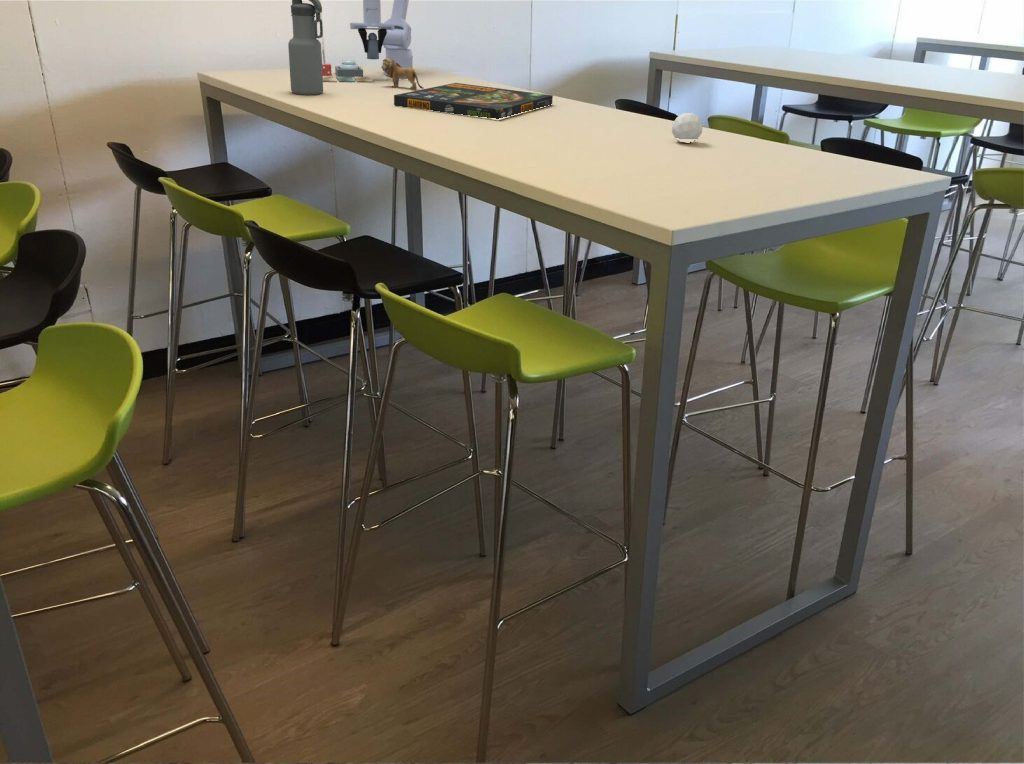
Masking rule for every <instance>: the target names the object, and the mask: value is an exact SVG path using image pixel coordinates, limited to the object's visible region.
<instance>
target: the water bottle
mask: <svg viewBox="0 0 1024 764" xmlns="http://www.w3.org/2000/svg"><path fill="white" fill-rule="evenodd" d="M308 1H309V2H310V3H308V2H307V3H306V2H303V0H291V5H290V14H291V15H290V16H291V20H292V36H293V37H292V38H291V39H289V41H288V44H287V45H288V47H287V48H288V62H289V63H288V64H289V77H290V80H289V81H290V90H291V92H292V93H293V94H295V95H301V96H315V95H316V96H317V95H320V94H323V92H324V82H323V76H324V75H323V74H322V64H323V56H322V44H321V41H320V40H319V39H320V38H321V39H322V38H323V35H324V31H323V30H324V29H323V20H322V19H321V13H322V12H323V8H322V4H321V2H320V0H308ZM318 23H319V31H320V32H319V35H318Z"/></svg>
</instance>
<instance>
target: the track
mask: <svg viewBox="0 0 1024 764" xmlns="http://www.w3.org/2000/svg"><path fill="white" fill-rule="evenodd" d="M337 82H339V83H355V82H357V83H374V82H373V79H371V78H370V77H369V76H363V77H338V76H336V77H335V76H334V75H333V76H330V75H323V83H337Z"/></svg>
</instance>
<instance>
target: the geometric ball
mask: <svg viewBox="0 0 1024 764" xmlns="http://www.w3.org/2000/svg"><path fill="white" fill-rule="evenodd" d="M702 133H703V122H702V121H701V118H700V117H699V116H698V115H697V114H695V113H694V112H683V113H681V114H679V116H677V117H676V118H675V120H673V123H672V124H671V134H672V135H673V136H674V139H675V138H679V139H697V140H698V139H699V137H701V135H702Z"/></svg>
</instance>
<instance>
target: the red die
mask: <svg viewBox="0 0 1024 764" xmlns="http://www.w3.org/2000/svg"><path fill="white" fill-rule="evenodd" d="M322 74H323V76H332V64H331V63H322Z"/></svg>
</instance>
